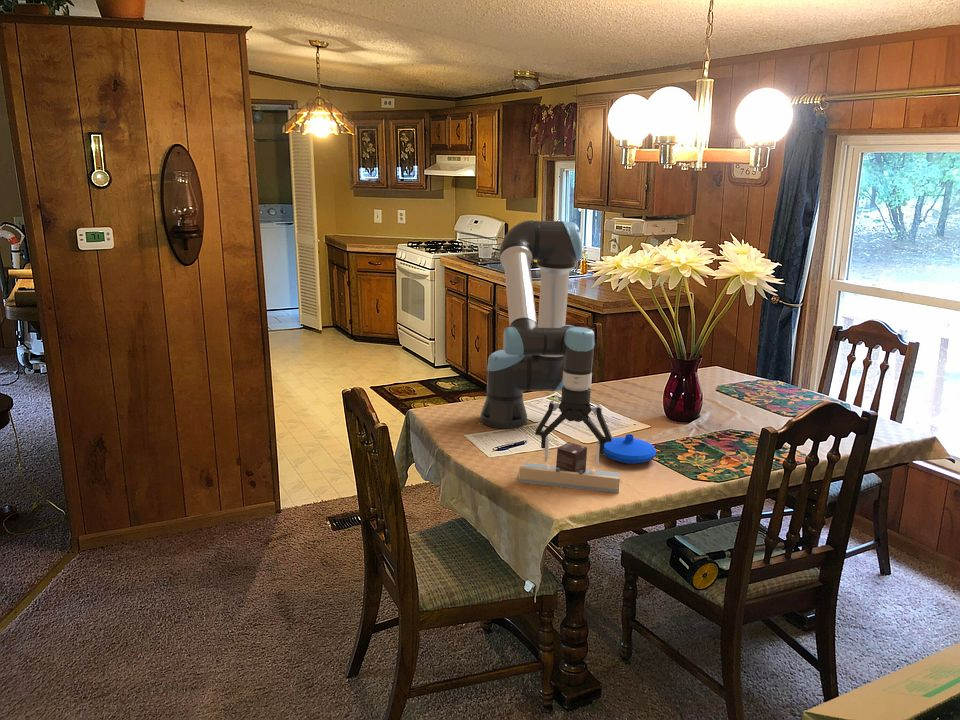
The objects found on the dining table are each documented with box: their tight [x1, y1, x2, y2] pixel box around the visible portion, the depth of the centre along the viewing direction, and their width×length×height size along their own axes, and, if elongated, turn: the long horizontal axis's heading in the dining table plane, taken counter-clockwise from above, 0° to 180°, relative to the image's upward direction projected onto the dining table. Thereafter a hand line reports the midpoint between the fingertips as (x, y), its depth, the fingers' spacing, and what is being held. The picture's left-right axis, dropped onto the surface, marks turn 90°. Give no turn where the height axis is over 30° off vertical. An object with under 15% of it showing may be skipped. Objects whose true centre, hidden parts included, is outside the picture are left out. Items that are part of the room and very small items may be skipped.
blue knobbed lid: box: [603, 433, 657, 465], centre depth 216 cm, size 16×16×7 cm
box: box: [555, 441, 588, 473], centre depth 202 cm, size 6×6×7 cm
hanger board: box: [518, 462, 621, 494], centre depth 200 cm, size 11×26×5 cm, turn 78°
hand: (571, 462), depth 202 cm, fingers open, 13 cm apart
